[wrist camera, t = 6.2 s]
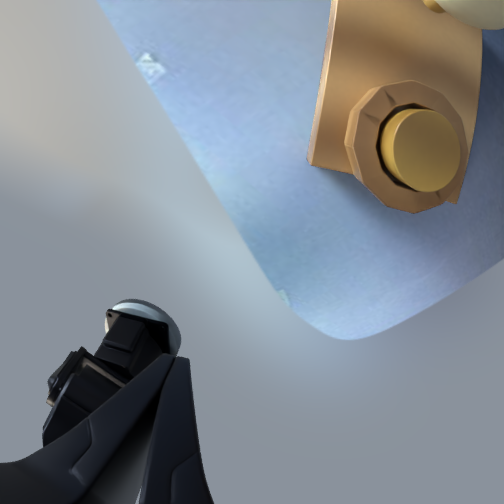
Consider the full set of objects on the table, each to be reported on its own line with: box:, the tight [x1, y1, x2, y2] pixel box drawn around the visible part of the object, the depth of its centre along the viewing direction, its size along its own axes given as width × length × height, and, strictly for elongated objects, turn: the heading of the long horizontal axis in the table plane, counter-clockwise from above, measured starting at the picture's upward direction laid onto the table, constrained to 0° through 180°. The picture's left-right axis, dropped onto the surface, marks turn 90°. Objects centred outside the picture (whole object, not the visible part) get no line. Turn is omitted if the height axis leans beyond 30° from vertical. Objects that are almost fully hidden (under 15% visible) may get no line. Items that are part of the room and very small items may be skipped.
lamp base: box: [307, 0, 482, 214], centre depth 12 cm, size 15×10×4 cm
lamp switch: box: [380, 109, 461, 192], centre depth 12 cm, size 4×4×2 cm
